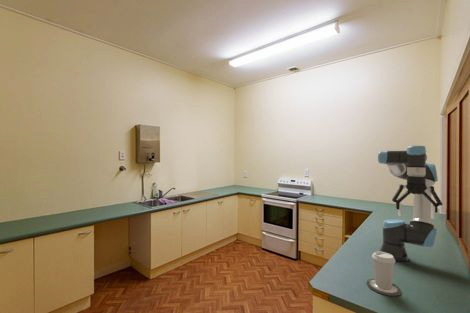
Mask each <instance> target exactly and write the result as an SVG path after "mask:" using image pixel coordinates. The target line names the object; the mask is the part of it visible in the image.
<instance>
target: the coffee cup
mask: <svg viewBox="0 0 470 313" xmlns="http://www.w3.org/2000/svg"><path fill="white" fill-rule="evenodd" d="M371 258H372V261H373V263H372V264H373V271H374V279H375V283H376V286H378V287H379V288H382V289H386V290H390V289H392V283H393V276H394V267H395V263H396V261H395V259H394V257H393V256H392V255H391V254H389V253H385V252H380V250H379V251H377V250H376V251H374V252H373V253H372V255H371Z"/></svg>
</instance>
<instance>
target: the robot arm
mask: <svg viewBox="0 0 470 313" xmlns="http://www.w3.org/2000/svg"><path fill="white" fill-rule="evenodd" d="M406 148H407V149H406V150H381V151H379V152H378V154H377V161H378V163H379V164H381V165H382V164H383V165H386V166H387V167H388V169H389V172H390V174H392V176H394V177H396V178H399V179H400V180H405V181H406V184H401V183H400V184H399V187H398V189H397V191H396V192H395V194H394V195H393V197H392V199H391V201H392V202H393V203H395V210H398V211H397V212H398V217H402V203H401V202H402V201H404V199H406V198H407V197H408V196H409V195H410V194H413V206H412V207H413V209H412V210H413V211H412V213H413V214H412V220H409V223H406V222H405V220H403V219H385V220H384V221H383V223H382V244H381V246H380V248H379V252H385V253H389V254H391V255H392V256H393V257H394V259H395V262H407V261H409V255H408V251H407V249H406V244H409V245H414V246H415V245H416V246H419V247H423V248H434V247H435V245H436V240H437V234H438V228H436V227H435V225H434V223H432V220H436V213H437V214H438V207H439V206H443V202H442V201H441V199H440V197H439V196H438V194H437V193H436V191H435V186H434V185H435V184H436V182H438V181H439V180H438V173H437V172H438V171H437V168H436V165H435V164H433V163H427V162H426V161H428V160H427V159H428V156H427V154H426V153H427V149H426V146H425V145H409V146H407V147H406ZM405 188H406V191H405V192H404V193H403V194H402V191H403V190H404V189H405ZM400 194H402V195H401V196H400ZM433 199H434V200H433Z"/></svg>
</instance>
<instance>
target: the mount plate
mask: <svg viewBox="0 0 470 313" xmlns="http://www.w3.org/2000/svg"><path fill="white" fill-rule="evenodd" d="M366 286H367V287H368V288H369V289H370V290H372V291H374V292H375V293H377V294H381V295H383V296H386V297H387V296H388V297H398V296H400V295H401V294H402V290H401V288H400V287H399V286H398V285H397V284H394V283H393V282H392V289H390V290H386V289H382V288H379V287H378V286H376V283H375V278H370V279H367V280H366Z"/></svg>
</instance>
